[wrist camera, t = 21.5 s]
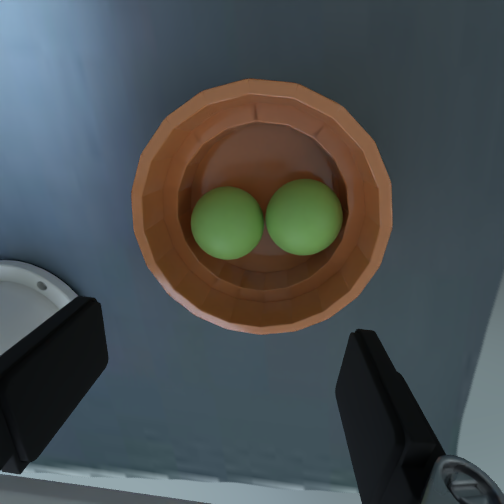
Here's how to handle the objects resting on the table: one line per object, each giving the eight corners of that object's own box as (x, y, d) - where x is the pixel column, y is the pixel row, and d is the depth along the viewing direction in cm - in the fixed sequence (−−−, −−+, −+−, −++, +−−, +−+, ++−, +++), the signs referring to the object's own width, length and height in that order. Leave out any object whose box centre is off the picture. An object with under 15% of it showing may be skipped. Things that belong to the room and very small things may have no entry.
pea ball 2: (354, 262, 15) (359, 203, 17) (308, 208, 13) (321, 149, 15) (287, 275, 18) (299, 223, 20) (240, 233, 16) (261, 181, 18)
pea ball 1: (241, 223, 21) (185, 243, 19) (239, 167, 18) (173, 185, 16) (276, 257, 18) (214, 285, 16) (281, 197, 15) (206, 224, 13)
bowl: (174, 272, 22) (139, 316, 17) (173, 88, 17) (121, 65, 12) (336, 296, 22) (353, 349, 16) (384, 110, 16) (435, 96, 11)
